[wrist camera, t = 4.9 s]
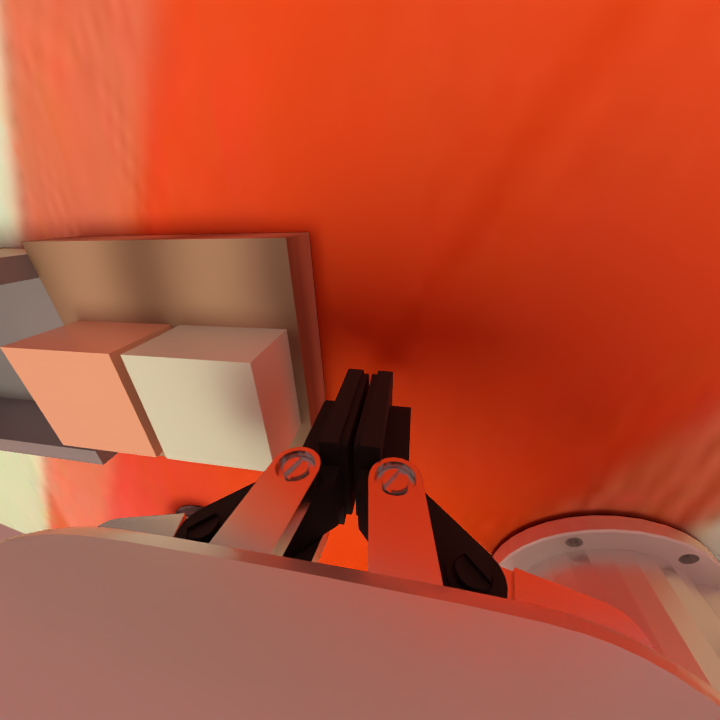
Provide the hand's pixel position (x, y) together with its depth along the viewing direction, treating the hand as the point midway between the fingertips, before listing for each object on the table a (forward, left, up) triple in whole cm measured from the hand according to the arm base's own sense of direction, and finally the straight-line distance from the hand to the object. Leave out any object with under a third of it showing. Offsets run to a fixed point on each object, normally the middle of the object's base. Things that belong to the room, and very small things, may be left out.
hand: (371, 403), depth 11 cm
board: (+9, 0, -4) cm, 10 cm away
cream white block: (+6, 0, -1) cm, 6 cm away
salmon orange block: (+12, 0, -1) cm, 12 cm away
